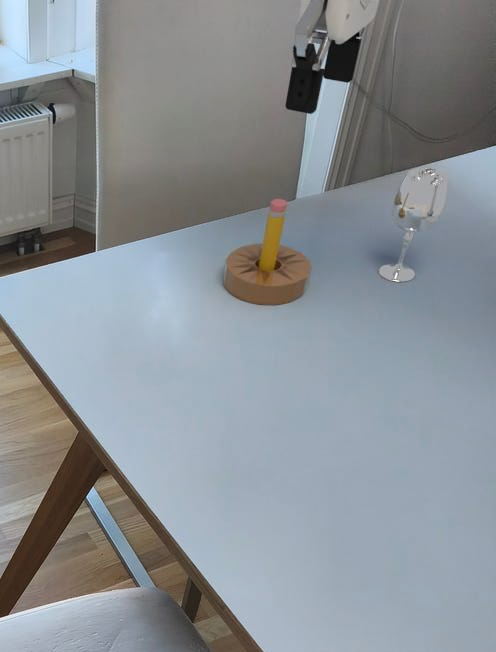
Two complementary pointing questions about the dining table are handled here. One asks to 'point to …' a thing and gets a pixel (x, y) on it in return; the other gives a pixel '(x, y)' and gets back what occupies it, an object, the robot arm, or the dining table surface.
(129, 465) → the dining table surface
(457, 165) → the dining table surface
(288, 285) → the brown sunburst ring
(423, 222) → the wineglass
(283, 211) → the pencil
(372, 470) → the dining table surface
